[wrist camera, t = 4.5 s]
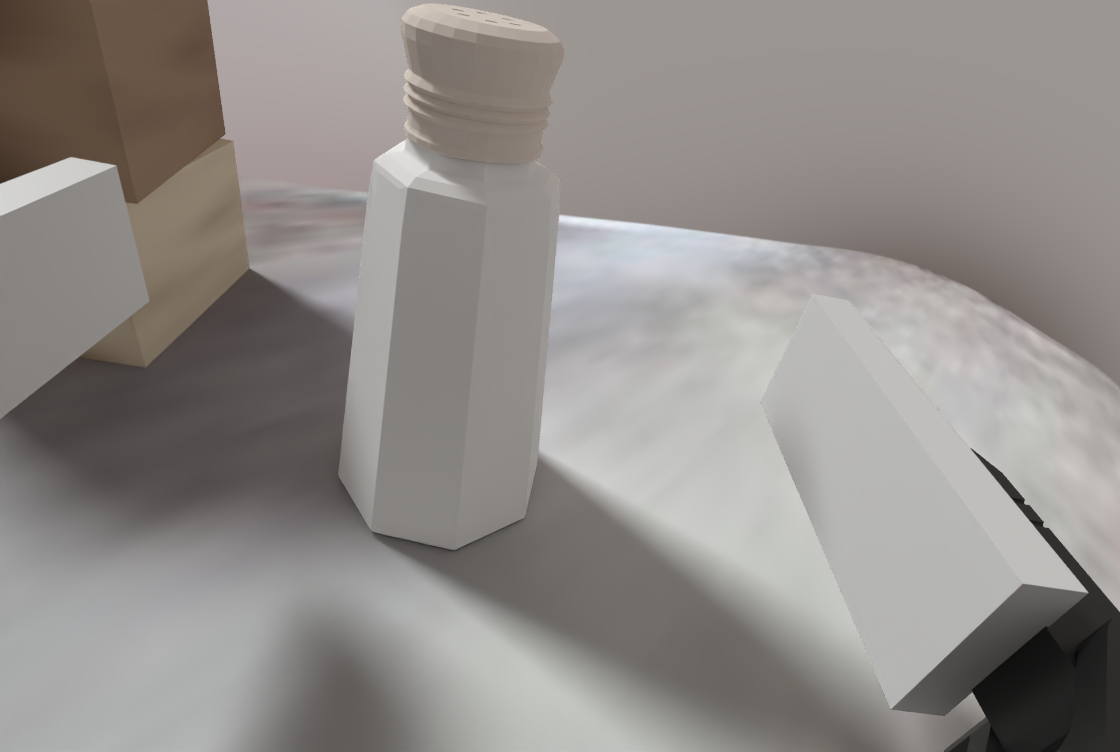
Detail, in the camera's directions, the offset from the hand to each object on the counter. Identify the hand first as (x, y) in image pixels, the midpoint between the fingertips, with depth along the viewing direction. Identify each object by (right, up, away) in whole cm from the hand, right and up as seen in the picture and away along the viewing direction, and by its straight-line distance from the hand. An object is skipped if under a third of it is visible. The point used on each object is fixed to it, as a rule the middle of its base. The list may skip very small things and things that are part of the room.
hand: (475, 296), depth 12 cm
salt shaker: (-2, -4, +5) cm, 7 cm away
